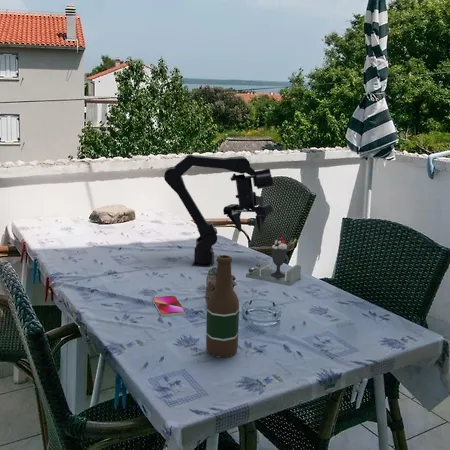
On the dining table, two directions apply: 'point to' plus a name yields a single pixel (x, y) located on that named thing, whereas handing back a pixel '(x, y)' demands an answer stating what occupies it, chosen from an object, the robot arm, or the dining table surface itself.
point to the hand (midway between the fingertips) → (250, 231)
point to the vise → (266, 271)
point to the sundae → (278, 255)
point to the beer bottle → (222, 313)
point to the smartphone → (168, 306)
